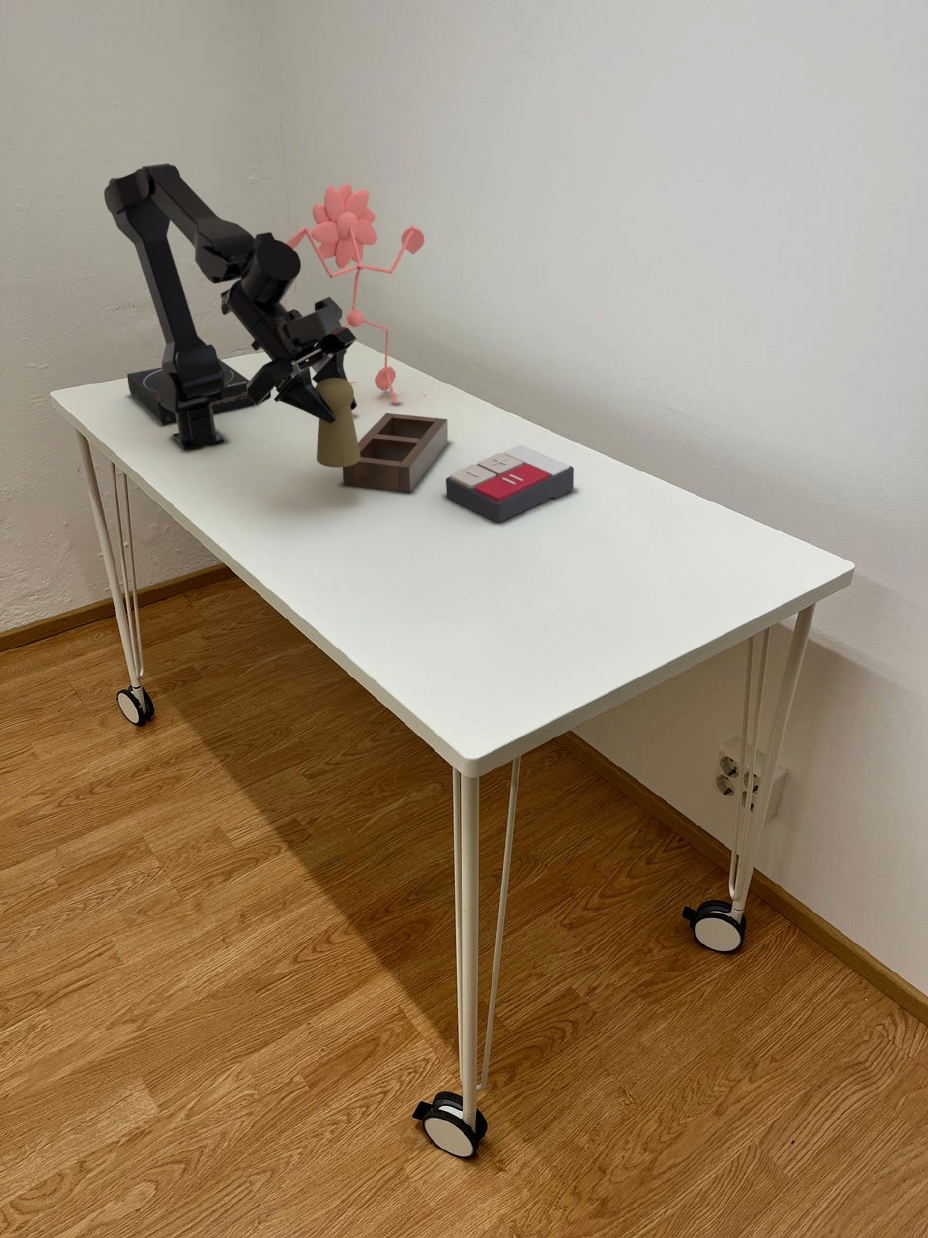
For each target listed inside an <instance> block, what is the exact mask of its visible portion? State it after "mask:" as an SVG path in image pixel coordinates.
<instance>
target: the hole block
mask: <svg viewBox="0 0 928 1238" xmlns="http://www.w3.org/2000/svg"><path fill="white" fill-rule="evenodd" d="M448 430H449V429H448V418H441V417H440V418H439V417H432V416H421V415H413V414H412V415H411V414H402V413H401V414H400V413H394V412H393V413H391V412H385V413H384V414H383V415H382V416H381V417H380V419H379V420H378V421H376V423H375V424H374V425H372V427H371V428H370V429H369V430H368V431H367V433H365V434H364V435H363V436H362V438H361V439H359V441H358V446H359V451H360V456H361V459H360V461H359V462H357V463H356V464H354V465H351V466H347V467H342V478H343V479H342V480H343V485H344V486H349V487H359V488H367V489H375V490H382V491H383V490H384V491H391V492H397V493H399V492H400V493H406V494H411V492H412V491H413V490H414V488H415V487H416V486H417V484H418V483H419V482H420V480H421V479H422V478H423V476H424V475H425V474H426V472H427V471H428V470H429V468H431V466H432V465H433V463H434V462H435V461H436V459H438V457H439V455H440V454H441V453H442V451H443V450H444V448H445V447H446V446H447V444H448V442H449V437H448V435H449V434H448Z"/></svg>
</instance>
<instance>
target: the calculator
mask: <svg viewBox="0 0 928 1238" xmlns="http://www.w3.org/2000/svg"><path fill="white" fill-rule="evenodd" d="M574 476H575V468H574V466H572V465H570V464H568V463H566V462H563V461H561V460H559V459H556V458H553V457H551V456H549V455H546V454H544V453H543V452H540V451H537V450H535V449H532V448H530V447H528V446H525V445H522V444H519V445H516V446H514V447H512V448H510V449H508V450H505V451H503V452H499V453H496V454H494V455H492V456H490V457H487V458H484V459H483V460H480V461H478V462H477V464H471V465H469V466H467V467H464V468H461V469H460V470H457V471H455V472H453V473H451V474H449V476H448V477H446V478H445V488H446V498H448V499H450V500H451V501H453V502H455V503H458V504H460V505H461V506H463V507H465V508H467V509H469V510H471V511H473V512H475V513H477V514H479V515H481V516H483V517H486V518H487V519H489V520H491V521H493V522H495V523H502V522H504V521H506V520H507V519H510V518H512V517H514V516H516V515H518V514H520V513H522V512H524V511H526V510H528V509H531V508H532V507H534V506H536V505H539V504H541V503H542V502H545V501H546V500H549V499H551V498H553V499H558V498H560V497H562V496H564V495H566V494H568V493H570V492H572V491H574V485H575V484H574V483H575V481H574V479H575V477H574Z"/></svg>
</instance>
